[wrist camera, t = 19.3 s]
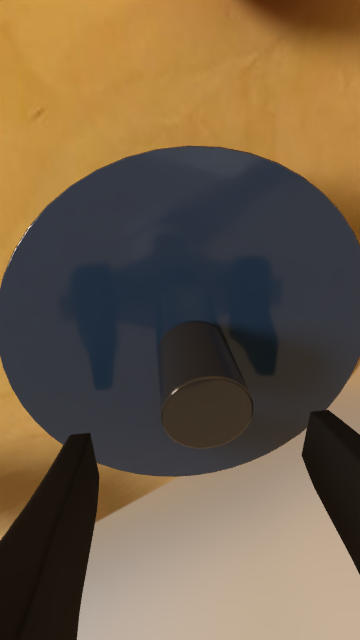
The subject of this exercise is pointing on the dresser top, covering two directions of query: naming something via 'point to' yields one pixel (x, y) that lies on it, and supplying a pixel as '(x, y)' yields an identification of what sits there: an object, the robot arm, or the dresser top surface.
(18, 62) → the dresser top surface
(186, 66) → the dresser top surface
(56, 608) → the robot arm
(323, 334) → the lid
